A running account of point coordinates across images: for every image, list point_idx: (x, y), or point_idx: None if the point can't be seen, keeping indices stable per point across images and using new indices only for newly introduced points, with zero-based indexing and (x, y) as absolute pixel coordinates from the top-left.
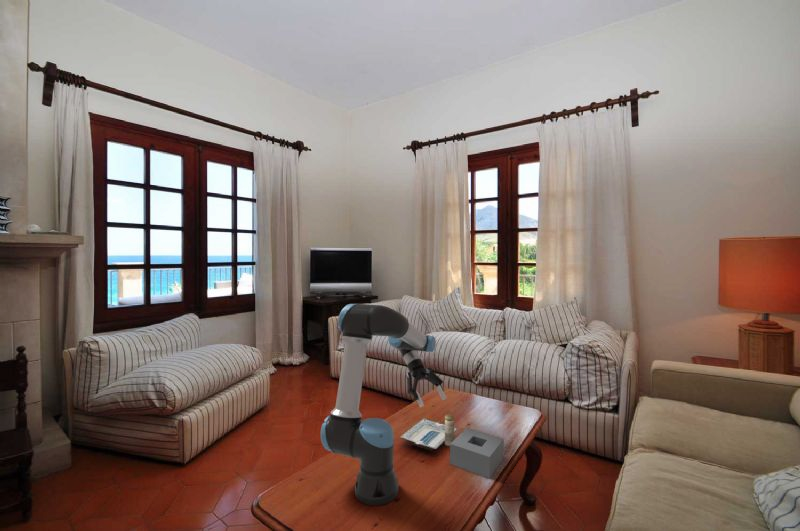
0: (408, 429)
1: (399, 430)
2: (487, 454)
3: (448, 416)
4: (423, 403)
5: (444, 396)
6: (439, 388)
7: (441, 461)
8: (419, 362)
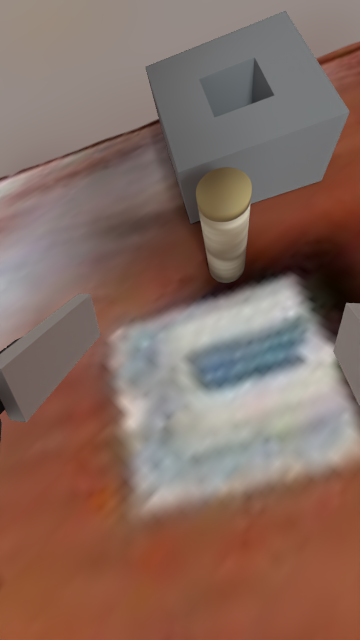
0: (286, 481)
1: (336, 511)
2: (278, 21)
3: (227, 192)
4: (353, 307)
5: (84, 302)
6: (32, 361)
7: (333, 207)
8: None
